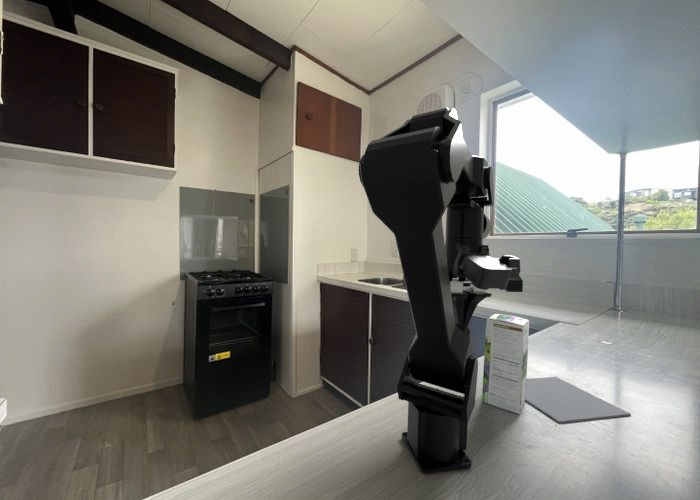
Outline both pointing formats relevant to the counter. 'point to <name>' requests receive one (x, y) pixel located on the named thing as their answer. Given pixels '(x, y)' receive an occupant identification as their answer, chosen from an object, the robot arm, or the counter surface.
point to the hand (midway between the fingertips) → (460, 333)
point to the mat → (567, 401)
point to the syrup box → (505, 362)
